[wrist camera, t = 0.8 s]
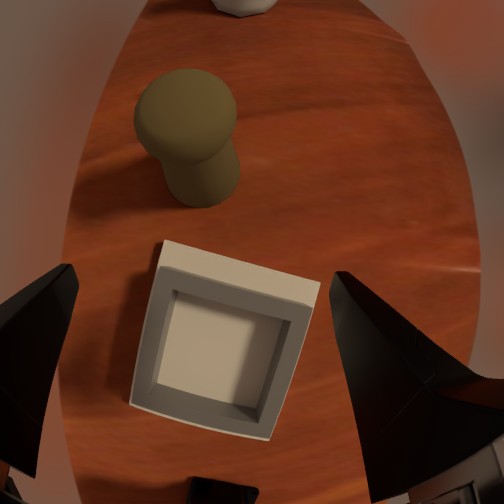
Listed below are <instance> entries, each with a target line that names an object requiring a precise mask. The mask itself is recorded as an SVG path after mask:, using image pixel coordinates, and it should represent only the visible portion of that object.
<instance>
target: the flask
mask: <svg viewBox="0 0 504 504" xmlns="http://www.w3.org/2000/svg"><path fill="white" fill-rule="evenodd" d="M211 1H212V2H213V4H214V5H215V6H216V8H217V9H218V10H220V11H223V12H227V13H230V14H233V15H236V16H239V17H243V16H248V15H253V14H259V13H264V12H266V11H267V10H268V9H270V8H271V7H272V6H273V5H274V4H275V3H276V2H277V0H211Z"/></svg>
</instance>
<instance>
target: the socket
mask: <svg viewBox="0 0 504 504" xmlns="http://www.w3.org/2000/svg"><path fill="white" fill-rule="evenodd" d="M319 287H320V282H316V281H312V280H309V279H305V278H301V277H298V276H294V275H290V274H287V273H283V272H279V271H276V270H272V269H268V268H265V267H261V266H257V265H254V264H250V263H247V262H243V261H239V260H236V259H232V258H229V257H225V256H221V255H218V254H214V253H211V252H207V251H204V250H200V249H196V248H193V247H189V246H186V245H182V244H179V243H175V242H172V241H168V240H164V244H163V247H162V251H161V254H160V258H159V262H158V266H157V269H156V273H155V277H154V281H153V285H152V289H151V293H150V298H149V302H148V306H147V310H146V315H145V319H144V324H143V329H142V333H141V338H140V343H139V348H138V353H137V359H136V364H135V370H134V375H133V381H132V387H131V394H130V400H129V405H131V406H134V407H136V408H139V409H142V410H145V411H148V412H151V413H154V414H157V415H160V416H163V417H166V418H169V419H173V420H176V421H179V422H183V423H186V424H190V425H194V426H198V427H201V428H205V429H210V430H214V431H218V432H223V433H227V434H232V435H237V436H242V437H247V438H253V439H259V440H265V441H269V440H270V437H271V435H272V432H273V430H274V427H275V424H276V422H277V419H278V416H279V414H280V411H281V408H282V405H283V402H284V400H285V397H286V394H287V391H288V388H289V385H290V382H291V379H292V376H293V373H294V370H295V367H296V364H297V361H298V358H299V355H300V352H301V349H302V346H303V342H304V339H305V336H306V333H307V329H308V326H309V322H310V319H311V316H312V312H313V309H314V305H315V302H316V298H317V294H318V291H319Z"/></svg>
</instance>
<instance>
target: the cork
mask: <svg viewBox="0 0 504 504" xmlns="http://www.w3.org/2000/svg"><path fill="white" fill-rule="evenodd" d="M235 125H236V103H235V100H234V98H233V96H232V93H231V91H230V89H229V87H228V86H227V85H226V84H225V83H224V82H223V81H222V80H221V79H220V78H218V77H216V76H214V75H212V74H210V73H208V72H206V71H204V70H198V69H192V68H188V69H178V70H174V71H171V72H169V73H166V74H163V75H162V76H160V77H159V78H157V79H156V80H154V81H152V82H151V84H150V85H149V86H148V87H147V88H146V89H145V90H144V91H143V93H142V94H141V96H140V98H139V100H138V102H137V105H136V107H135V113H134V127H135V131H136V135H137V139H138V140H139V141H140V143H141V144H142V145H143V147H144V148H145V149H146V151H147V152H148V153H149V154H150V155H152V156H153V157H155V158H156V159H158V160H160V162H161V166H162V169H163V173H164V176H165V180H166V183H167V186H168V189H169V191H170V192H171V193H172V195H173V196H174V197H175V199H177V200H178V201H180V202H181V203H183V204H184V205H187V206H191V207H194V208H208V207H211V206H214V205H217V204H219V203H221V202H222V201H224V200H225V199H226V198H228V197H229V196H230V195H231V194H232V192H233V191H234V189H235V188H236V187H237V184H238V180H239V177H240V163H239V160H238V157H237V154H236V151H235V149H234V146H233V143H232V140H231V136H232V133H233V130H234V127H235Z"/></svg>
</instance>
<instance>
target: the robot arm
mask: <svg viewBox="0 0 504 504" xmlns="http://www.w3.org/2000/svg"><path fill="white" fill-rule="evenodd" d="M78 290H79V282H78V279H77V276H76V273H75V270H74V267H73V266H72V265H71V264H60V265H59V266H57V267H56V268H54V269H52V270H51V271H49V272H48V273H46V274H44V275H43V276H41V277H40V278H38V279H37V280H35V281H34V282H32V283H31V284H29V285H28V286H26V287H25V288H23V289H22V290H20V291H19V292H18V293H16V294H15V295H14V296H12V297H11V298H9V299H8V300H6V301H5V302H4V303H2V304H1V305H0V504H28V503H26V502H24V501H23V500H22V498H21V496H20V494H19V492H18V490H17V488H16V486H15V484H14V481H13V479H12V478H11V477H9V476H8V474H9V469H10V467H12V468H13V469H15V470H17V471H19V472H21V473H23V474H25V475H27V476H29V477H32V478H35V476H36V468H37V460H38V459H37V458H38V452H39V445H40V439H41V433H42V426H43V421H44V416H45V411H46V407H47V402H48V398H49V393H50V389H51V385H52V381H53V377H54V374H55V370H56V366H57V363H58V359H59V356H60V353H61V349H62V346H63V343H64V340H65V337H66V334H67V331H68V328H69V324H70V321H71V317H72V313H73V309H74V305H75V301H76V297H77V293H78ZM329 298H330V305H331V311H332V318H333V325H334V331H335V337H336V341H337V345H338V349H339V352H340V356H341V360H342V364H343V368H344V372H345V376H346V381H347V385H348V389H349V393H350V397H351V402H352V406H353V411H354V415H355V420H356V424H357V429H358V434H359V439H360V444H361V447H362V448H361V449H362V455H363V460H364V465H365V471H366V476H367V482H368V488H369V494H370V500H371V503H372V504H373V503H377V502H380V501H383V500H387V499H390V498H393V497H396V496H399V495H402V494H405V493H408V495H409V500H410V503H407V504H504V379H493V378H486V377H483V376H480V375H478V374H476V373H474V372H473V371H472V370H470V369H469V368H468V367H466V366H465V365H463V364H462V363H461V362H459V361H458V360H457V359H455V358H454V357H453V356H451V355H450V354H449V353H447V352H446V351H445V350H443V349H442V348H441V347H439V346H438V345H437V344H435V343H434V342H433V341H432V340H431V339H429V338H428V337H427V336H426V335H425V334H423V333H422V332H421V331H420V330H417V328H416V327H415V326H414V325H413V324H412V323H410V322H409V321H408V320H407V319H406V318H404V317H403V316H402V315H401V314H400V313H398V312H397V311H396V310H395V309H393V308H392V307H391V306H390V305H389V304H387V303H386V302H385V301H384V300H383V299H381V298H380V297H379V296H378V295H376V294H375V293H374V292H373V291H371V290H370V289H369V288H368V287H366V286H365V285H364V284H363V283H361V282H360V281H359V280H358V279H356V278H355V277H354V276H353V275H351V274H350V273H349V272H347V271H337V272H335V274H334V276H333V280H332V283H331V287H330V291H329ZM196 481H198V482H196ZM254 491H255V492H254ZM258 495H259V489H258V488H255V487H248V486H241V485H234V484H229V483H223V482H218V481H213V480H208V479H203V478H199V477H195V478H193V479H192V483H191V486H190V490H189V493H188V497H187V500H186V504H254V503H255V501H256V499H257V497H258Z"/></svg>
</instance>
